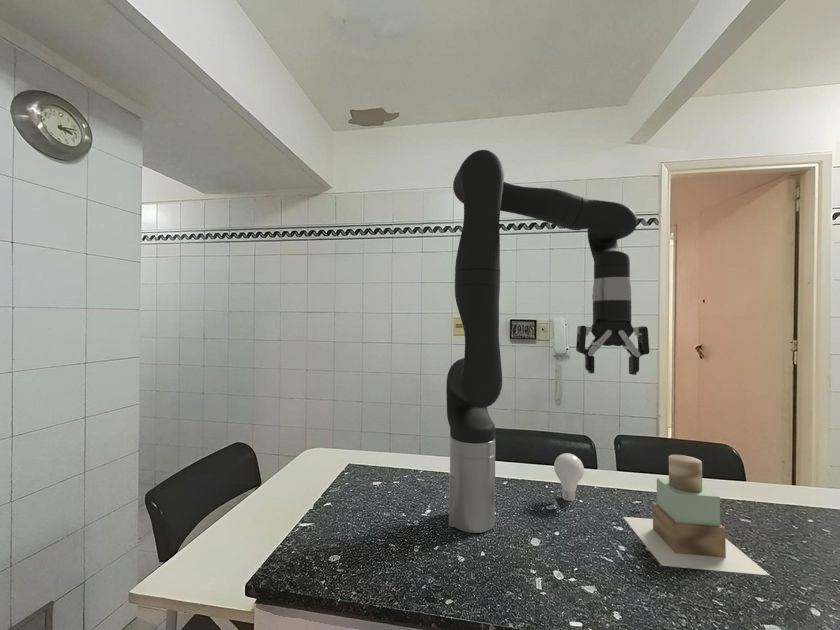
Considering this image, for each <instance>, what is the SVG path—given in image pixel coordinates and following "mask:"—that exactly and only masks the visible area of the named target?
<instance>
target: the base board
mask: <svg viewBox="0 0 840 630" xmlns="http://www.w3.org/2000/svg"><path fill="white" fill-rule="evenodd" d="M622 518H623V520H625V522H626V524H628V525H629V527H630V528H631V529H632V530H633V532H634V533H635V534H636V535H637V537H638V538H639V539H640V540H641V542H642V543H643V544H644V546H645V547H646V548H647V549H648V551H649V552H650V553H651V554H652V555H653V557H654V558H655V559H656V561H657V562H658V563H659V564H660V565H661V566H662V567H671V568H672V567H673V568H684V569H695V570H703V571H705V570H706V571H715V572H716V571H717V572H726V573H738V574H749V575H759V576H771V575H770V573H768V572H767V571H766V570H765V569H764V568H762V567H761V566H760V565H758V564H757V563H756V562H755V561H753V559H751V558H750V557H749V556H748V555H747V554H745V553H744V552H743V551H742V550H741V549H739V548H738V547H737V546H735V545H734V544H733V543H732V542H731V541H730V540H728V539H727V538H726V537H725V542H726V558H724V557H713V556H702V555H690V554H679V553H674V551H673V550H672V549H671V548H670V547H669V546H668V545H667V544H666V543H665V541H664V540H663V539H662V538H661V537H660V536H659V535H658V534H657V533H656V531H655V530H654V529H653V518H643V517H631V516H630V517H629V516H622Z"/></svg>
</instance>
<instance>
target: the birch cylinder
mask: <svg viewBox="0 0 840 630" xmlns="http://www.w3.org/2000/svg"><path fill="white" fill-rule="evenodd" d="M668 479H669V485H670V486H672V487H673V488H675V489H678V490H681V491H685V492H691V493H699V492H702V485H703V461H701V460H700V459H698V458H696V457H692V456H688V455H683V454H670V455H668Z"/></svg>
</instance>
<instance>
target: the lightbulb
mask: <svg viewBox="0 0 840 630" xmlns="http://www.w3.org/2000/svg"><path fill="white" fill-rule="evenodd" d="M553 467H554V472H555V474H556V476H557V478H558V480H559V481H560V485H561V488H562V499H563V500H564V501H568V502H574V501H575V500H576V490H577V487H578V483H579V482H580V481H581V480H582V478H583V476H584V475H585V473H584V472H585V469H584V468H585V466H584V464H583V462H582V461H581V459H580V458H578V456H576V455H575V454H572V453H567V452H566V453H561V454H560V455H557V457H556V458H555V461H554V464H553Z"/></svg>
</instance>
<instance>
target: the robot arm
mask: <svg viewBox="0 0 840 630" xmlns="http://www.w3.org/2000/svg"><path fill="white" fill-rule="evenodd" d="M504 171H505V170H504V166H503V163H502V161H501V160H500V158H499V157H498V156H497V155H496V154H495V153H494V152H492V151H490V150H487V149H478V150H476V151H474V152H472V153H471V154H469V155H468V156H467V157H466V158H465V159H464V160H463V162H462V163H461V165H460V167H459V169H458V171H457V173H456V175H455V176H454V180H453V183H452V186H453V187H452V188H453V193H454V195H455V197H456V199H458V200H457V201H459V202H460V203H461V204H463V223H462V224H463V225H462V228H461V234H460V236H459V237H460V238H459V243H458V248H457V252H456V258H455V259H456V260H455V268H454V297H455V298H454V299H455V304H456V306H457V311H458V313H459V317H460V320H461V324H462V326H463V327H462V328H463V334H464V357H463V358H462V357H461V358H460V359H458V360H456V361H455V362H454V363H452V365H450V367H449V370H448V372H447V375H446V385H445V386H446V387H445V388H446V391H445V392H446V417H447V421H448V422H447V423H448V426H449V435H450V437H449V438H450V439H449V441H450V442H449V446H450V447H449V477H448V527H450V528H455V529H457V530H459V531H462V532H465V533H473V534H477V533H478V534H479V533H485V532H489V531H490V530H492V529H493V528H494V526H495V524H496V523H495V520H496V425H495V423H494V421H493V419H492V418H491V416H490V414H489V411H488V407H490V406H492V405H493V404H494V403H496V402H497V400H498V399H499V397H500V395H501V392H502V387H503V371H502V370H503V369H502V359H501V357H502V356H501V348H500V346H501V345H500V291H501V263H500V262H501V261H500V260H501V259H500V258H501V256H500V255H501V254H500V253H501V249H500V248H501V243H500V242H501V241H500V240H501V238H500V237H501V236H500V232H501V231H500V221H501V220H500V218H501V212H505V213H510V214H515V215H521V216H523V217H524V216H525V217H528V218H533V219H536V220H538V221H539V220H540V221H542V222H545V223H549V224H551V225H555V226H558V227H562V228H565V229H567V230H571V231H581V230H587V240H588V244H589V248H590V253H591V256H592V259H593V285H592V295H591V297H592V299H591V300H592V325H591V326H586V325H578V326H577V330H576V343H575V345H576V346H575V351H576V352H577V353H580V354H582V355H584V358H585V361H584V367H585V371H587V372H588V374H595V356H594V354H595V353H596V352H597V351H598V350H599V349H600V348H601V347H602V346H604V347H607V346H608V347H611V346H613V347H614V346H615V347H621V346H622V348H623V349H625V350H626V351H627V353H628V354H629V356H628V374H629V375H632V376H634V375H635V376H636V375H637V373H639V371H640V357H642V356H644V355H649V354H650V341H649V339H650V338H649V328H648V327H647V326H644V325H641V326H637V327H636V326H635V327H633V325H632V286H631V277H630V276H631V273H630V272H631V271H630V270H631V268H630V266H631V265H630V264H631V263H630V255H629V254H628V253H627V252H625V251H623V250H620V249H619V246H618V241H619V240H621V239H624V238H627V237H628V236H630V235H631V234H632V233H633V232H634V231H635V230H636V229H637V226H638V217H637V214H636V213H635V211H634V210H633V208H632V209H631V207H629V206H628V205H625V204H623V203H620V202H615V201H608V200H607V201H606V200H600V199H589V198H585V197H583V196H580V195H576V194H573V193H570V192H567V191H564V190H561V189H560V190H559V189H557V188H556V189H555V188H549V187H548V188H545V187H531V186H529V187H528V186H522V185H521V186H520V185H515V184H511V183H508V182H506V181H505V172H504ZM590 332H591V334H592V335H593V336H594V338H593V340H592V341H591V342H590V343H589V345H588V347H587V348H586V342H587V341H586V340H587V339H586V338H587V337H588V336H589V334H590ZM633 333H634V336H635V337H637V346H636V345H635V343H634V342H633V341H632V340H631V339H630V337H631V336H632V335H633ZM637 348H638V349H637Z"/></svg>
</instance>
